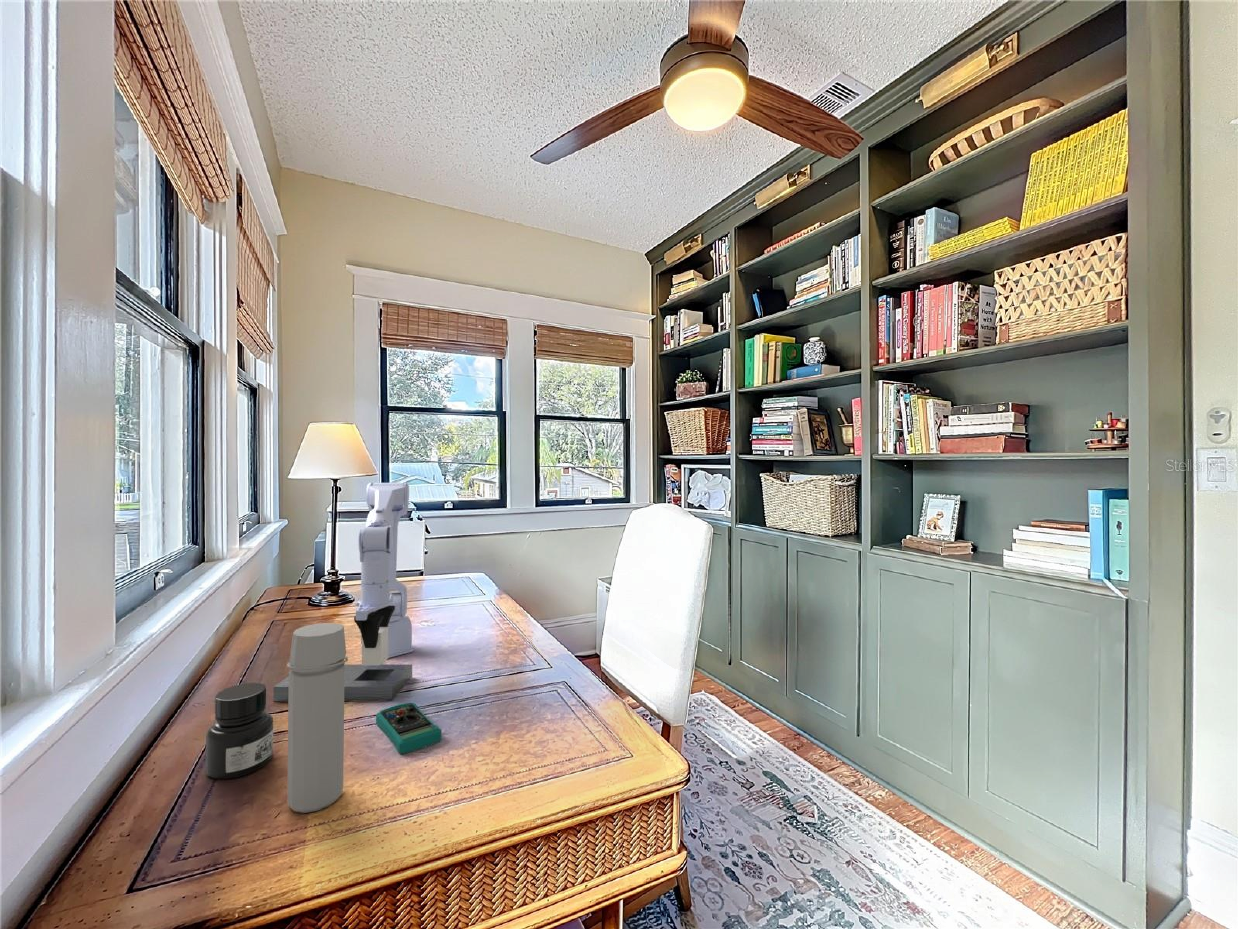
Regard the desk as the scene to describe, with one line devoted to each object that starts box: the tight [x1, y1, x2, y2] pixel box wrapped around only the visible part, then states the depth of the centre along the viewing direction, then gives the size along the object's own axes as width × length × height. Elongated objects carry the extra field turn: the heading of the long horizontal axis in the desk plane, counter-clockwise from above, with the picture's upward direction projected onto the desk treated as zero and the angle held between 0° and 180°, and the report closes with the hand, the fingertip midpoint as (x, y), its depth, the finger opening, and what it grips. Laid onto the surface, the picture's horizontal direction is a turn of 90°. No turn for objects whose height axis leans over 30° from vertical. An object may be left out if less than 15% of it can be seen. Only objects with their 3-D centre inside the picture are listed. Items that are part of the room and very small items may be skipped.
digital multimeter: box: [375, 702, 442, 755], centre depth 98 cm, size 7×15×3 cm, turn 40°
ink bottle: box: [205, 682, 274, 780], centre depth 87 cm, size 10×9×12 cm
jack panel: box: [273, 663, 413, 702], centre depth 116 cm, size 24×12×3 cm, turn 92°
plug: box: [360, 627, 389, 665], centre depth 116 cm, size 5×4×7 cm
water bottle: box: [286, 622, 349, 814], centre depth 79 cm, size 9×8×25 cm
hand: (374, 643), depth 116 cm, fingers closed on plug, 4 cm apart
